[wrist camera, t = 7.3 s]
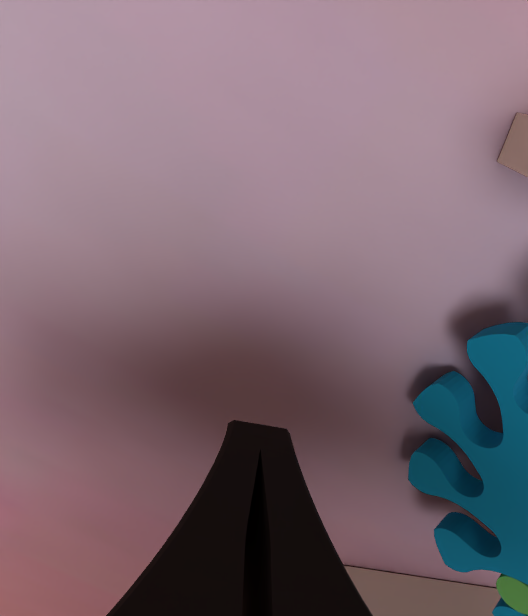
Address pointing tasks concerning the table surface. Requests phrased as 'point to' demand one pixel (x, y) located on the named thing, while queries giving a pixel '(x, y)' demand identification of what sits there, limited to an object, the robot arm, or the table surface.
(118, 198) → the table surface
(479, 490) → the blue virus model
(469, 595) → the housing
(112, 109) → the table surface
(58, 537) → the table surface
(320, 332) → the table surface
